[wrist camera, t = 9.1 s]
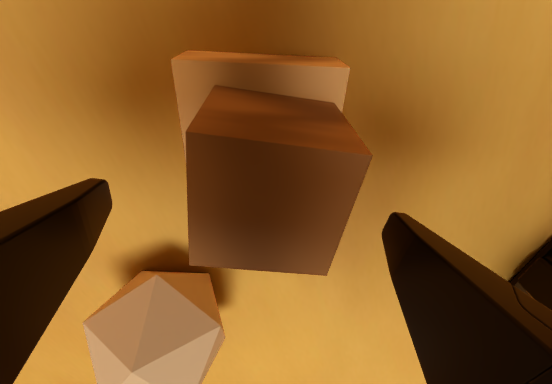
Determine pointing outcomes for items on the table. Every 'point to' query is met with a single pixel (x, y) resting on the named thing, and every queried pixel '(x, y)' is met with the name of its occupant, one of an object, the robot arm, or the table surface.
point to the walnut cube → (270, 181)
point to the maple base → (255, 78)
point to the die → (156, 330)
